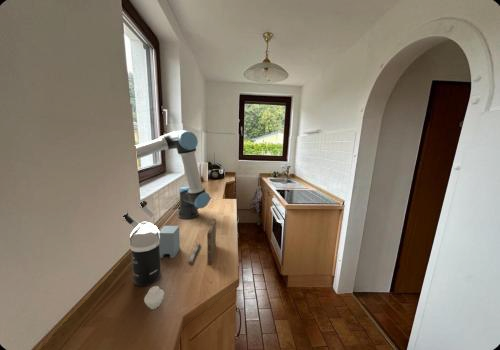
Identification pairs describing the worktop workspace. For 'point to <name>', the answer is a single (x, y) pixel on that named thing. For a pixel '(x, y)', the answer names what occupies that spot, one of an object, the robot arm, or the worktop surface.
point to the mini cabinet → (169, 241)
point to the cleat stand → (210, 243)
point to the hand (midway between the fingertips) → (146, 221)
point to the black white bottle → (145, 253)
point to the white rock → (154, 297)
